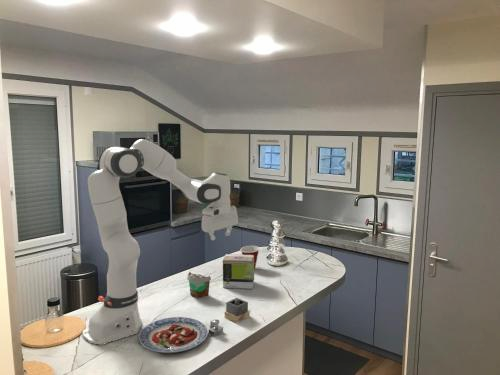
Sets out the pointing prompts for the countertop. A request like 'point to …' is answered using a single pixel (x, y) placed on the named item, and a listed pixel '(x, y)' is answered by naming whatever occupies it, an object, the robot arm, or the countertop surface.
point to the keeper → (237, 318)
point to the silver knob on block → (215, 329)
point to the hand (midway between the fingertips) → (220, 237)
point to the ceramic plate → (173, 334)
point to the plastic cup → (251, 252)
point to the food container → (198, 285)
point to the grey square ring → (236, 307)
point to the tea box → (238, 271)
